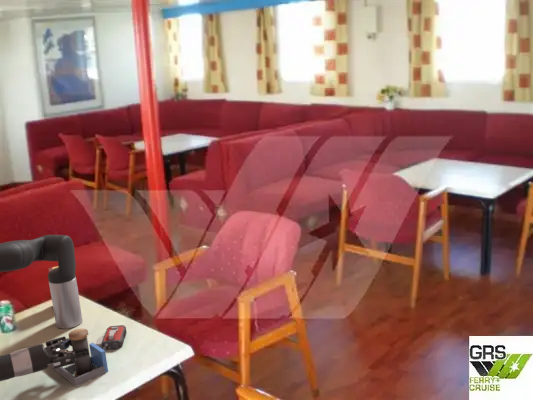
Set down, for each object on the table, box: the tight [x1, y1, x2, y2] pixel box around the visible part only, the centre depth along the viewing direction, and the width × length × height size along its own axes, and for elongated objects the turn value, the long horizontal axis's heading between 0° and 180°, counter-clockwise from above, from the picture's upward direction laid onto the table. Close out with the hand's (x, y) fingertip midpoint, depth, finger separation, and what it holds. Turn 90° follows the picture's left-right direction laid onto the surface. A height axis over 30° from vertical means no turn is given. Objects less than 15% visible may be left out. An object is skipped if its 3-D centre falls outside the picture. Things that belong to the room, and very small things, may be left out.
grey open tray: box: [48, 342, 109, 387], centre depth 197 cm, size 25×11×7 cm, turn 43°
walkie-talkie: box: [95, 324, 127, 351], centre depth 208 cm, size 9×4×20 cm
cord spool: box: [68, 328, 94, 377], centre depth 190 cm, size 6×6×14 cm
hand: (85, 345), depth 190 cm, fingers open, 8 cm apart
